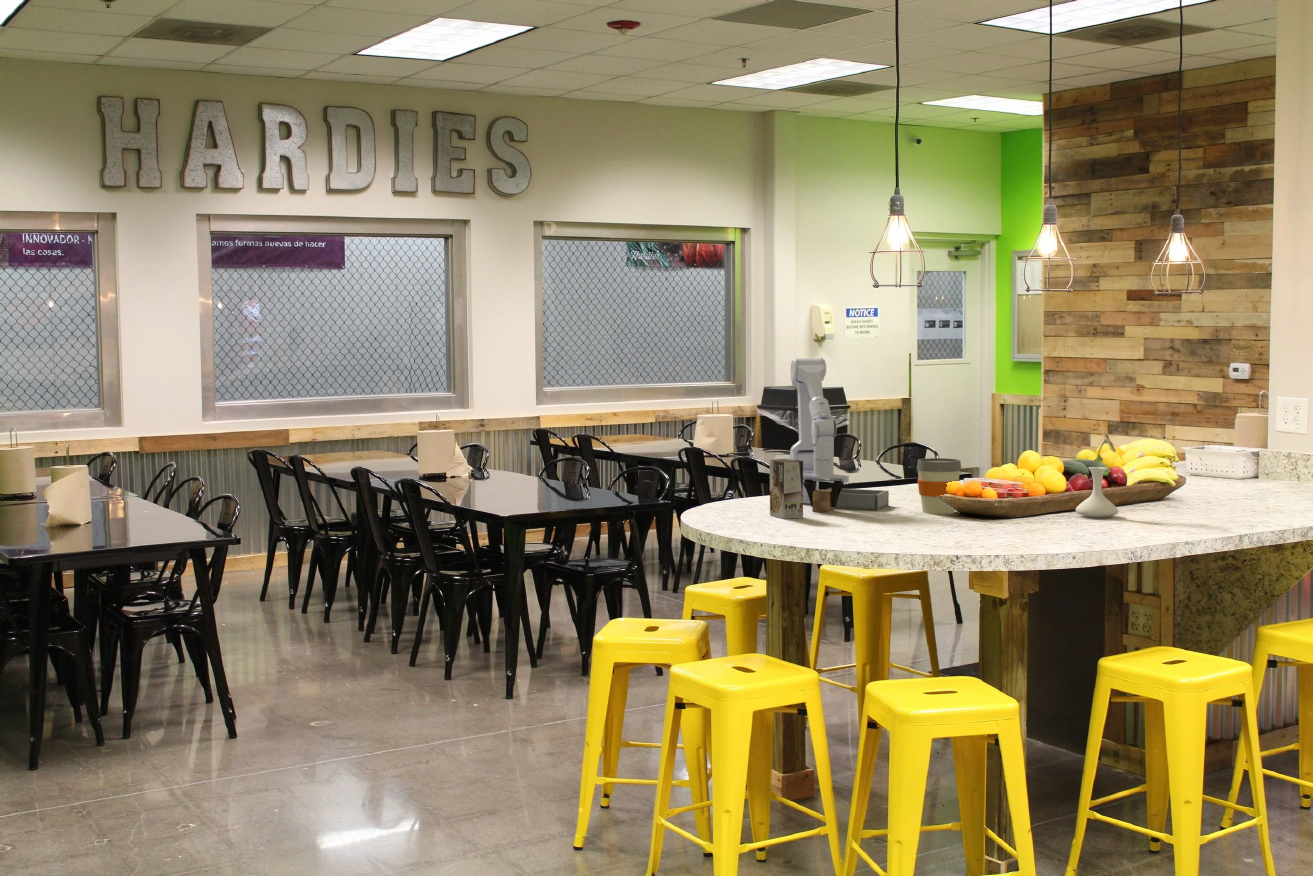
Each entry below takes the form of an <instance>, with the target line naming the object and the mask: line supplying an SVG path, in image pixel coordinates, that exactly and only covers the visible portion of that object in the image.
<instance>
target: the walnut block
mask: <svg viewBox="0 0 1313 876" xmlns="http://www.w3.org/2000/svg"><path fill="white" fill-rule="evenodd" d="M834 511H835V508H834V507H832V490H827V489H819V490H815V491H813V506H812V512H813V513H825V514H826V513H832V512H834Z"/></svg>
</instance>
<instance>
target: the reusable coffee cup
mask: <svg viewBox="0 0 1313 876" xmlns="http://www.w3.org/2000/svg"><path fill="white" fill-rule="evenodd" d="M961 463H962V461H961V460H960V459H958V458H956V459H955V458H944V457H943V458H942V457H941V458H940V457H938V458H937V457H934V458H932V457H930V458H918V459H917V466H916V470H917V474H918V478H917V486H918V494H919V495H920V500H921V508H922V513H925V514H930V515H948V514H949V515H950V514H955V510H956V508H955V509H954V508H953V507H951V506H950V505H947V504H946V503H945V502H943V501H942V500H940V499H939V498H937V495H938V496H940V495H944V494H947V491H946V487H947V484H946V483H948V482H952V481H960V482H961V479H960V474H961V471H962V464H961Z"/></svg>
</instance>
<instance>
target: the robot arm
mask: <svg viewBox="0 0 1313 876" xmlns="http://www.w3.org/2000/svg"><path fill="white" fill-rule="evenodd" d="M826 373H827V363H826V360H825V359H824V358H823V357H818V358H817V357H816V358H809V357H807V358H801V357H800V358H798V357H794V358H792V360H791V363H790V381H791V386H793V387H795V388H796V391H797V407H798V408H797V410H798V413H797V414H798V415H797V416H798V441H797V442H796V443H794V444H792V446H791V448H790V449H789V450H790V451H789V452H790V453H789V459H794V460H800V461H803V504H809V505H810V507H813V491H815V490H820V489H819V484H820V482H831V483H830V488H831V489H832V507H836V506H837V500H838V497H839V494H840V492H841V489H843V487H844V485H845V484H847V483H849V479H850V476H849V475H846V474H834V469H835V468H834V465H835V464H834V461H835V457H834V456H835V454H834V453H835V448H834V447H835V446H834V445H835V442H834V441H835V438H836V436H837V421H836V418H835V417H834V415H832V413H831V409H830V405H829V401H828V399H827V398H825V397H824V392H823V391H824V390H823V385H822V384H823V383H822V382H823V381H824V379H825V376H826V375H827V374H826Z"/></svg>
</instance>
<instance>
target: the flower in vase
mask: <svg viewBox="0 0 1313 876" xmlns="http://www.w3.org/2000/svg"><path fill="white" fill-rule="evenodd" d="M1100 430H1101V433H1102V435H1103V437H1104V440H1103V442H1102V443H1101V445H1100V447H1099V450H1098V452H1097V457H1096V458H1095V459H1094V460H1093V462H1094V463H1095V464H1096V466H1088V470H1089V471H1090V473H1091V476H1092V484H1093V486H1092V493H1091V494H1090V495H1089V497H1087V498H1086V499H1084V500H1083V501H1082V502H1080V504H1078V506H1076V508H1075V513H1077V514H1079V515H1082V516H1083V517H1084V516H1085V517H1089V518H1108V517H1112V516H1113V517H1114V516H1116V515H1118V513H1119V509H1118V508H1117V506H1115V504H1113V502H1111V501H1110V500H1109V499H1108V498H1107V497H1105V496H1104V494H1103V491H1102V489H1103V488H1102V487H1103V485H1102V484H1103V482H1102V481H1103V478H1104V475H1105V472H1106V471H1107V470H1108V467H1104V466H1099V463H1100V462H1101V463H1103V462H1104V461H1103V460H1104V458H1103V457H1102V456H1101V454H1100V452H1101V450H1102V448H1103V446H1104V444H1107V445H1108V446H1109V448H1110V450H1111V451H1112V452H1113V453H1116V451H1117V449H1116V448H1115V445H1114V444H1113V442H1112V441H1111V439H1110V436H1109V434H1108V433H1107V432H1106V430H1105V428H1104V427H1102V426H1101V427H1100Z"/></svg>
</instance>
